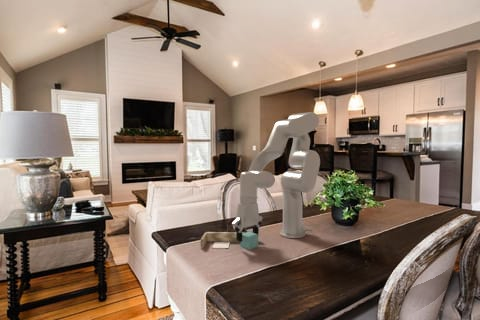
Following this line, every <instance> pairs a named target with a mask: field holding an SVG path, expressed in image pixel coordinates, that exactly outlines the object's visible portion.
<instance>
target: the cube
mask: <svg viewBox="0 0 480 320" xmlns="http://www.w3.org/2000/svg"><path fill="white" fill-rule="evenodd" d="M239 243H240V247H241V248H244V249H246V250H248V249H249V250H252V249H255V248H257V247H259V233H258V234H255V233H253V231H247V232H244V233H243V234H242V242H239Z"/></svg>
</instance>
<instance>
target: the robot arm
mask: <svg viewBox="0 0 480 320" xmlns="http://www.w3.org/2000/svg"><path fill="white" fill-rule="evenodd" d="M319 123H320V118H319V115H318V114H317V113H315V112H313V111H311V112H310V111H309V112H299V113H293V114H291V115H289V116H288V118H287V119H280V120H278V121H276V122H275V124H274V126H273V128H272V131H271V132H270V135H269V138H268V140H267V141H266V145H265V147H264V149H262V150H261V151H260V152H259V153H258V154H257V155H256V156H255V157H254V159H253V160H252V161H251V164H250V165H249V169H248V170H247V171H243V172H241V173H240V176H239V203H238V204H237V208H236V214H235V217H236V220H235V221H233V222H232V223H231V225H232V226H233V229H234V231H235V232H236V240H237V241H239V242H238V243H240V242H242V231H243V230H244V229H243V228H245V227H246V228H249V227H252V233H255V234H258V235H259V232H260V231H259V229H260V227H261V225H262V220H263V216H262V215H259V214H260V213H259V212H260V211H259V204H258V197H259V196H258V189H270V188H272V187H273V186H274V184H275V182H276V177H275V175H274V174H273V173H272V172H270V171H266V170H264V169H265V167H266V166H267V165H268V164H270V162H272V161H274V160H276V159H278V158H280V157H281V156H283V154H284V151H285V149H286V145H287V144H288V140H289V139H290V138H291V139H292V145H291V149H290V153H289V157H288V165H289V167H290V168H292V169H295V170H288V171H285V172H284V173H282V175H281V176H280V186H281V191H282V229H280V230H279V235H280V236H282V237H283V238H286V239H301V238H304V237H306V232H308V233H312V232H313V227H309V226H304V225H303V196H302V193H303V194H304V193H305V194H308V193H311V192H312V191H313V190H314V189H315V186H316V183H317V179H318V174H319V170H320V165H321V158H320V155H319V153H318V152H317V151H316V150H312V149H310V146H311V137H310V135H309V133H310V132H312V131H314V130H315V129H317V128H318V126H319ZM296 169H297V170H302V171H297V170H296Z"/></svg>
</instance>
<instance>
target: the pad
mask: <svg viewBox="0 0 480 320" xmlns="http://www.w3.org/2000/svg"><path fill="white" fill-rule="evenodd" d="M230 244H231V242H219V241H214V243H213V245H212V247H211V248H212V249H226V248H228V249H229V247H230Z"/></svg>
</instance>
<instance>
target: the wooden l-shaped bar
mask: <svg viewBox="0 0 480 320" xmlns="http://www.w3.org/2000/svg"><path fill="white" fill-rule="evenodd" d="M243 233H245V231H243V232H242V234H243ZM208 242H230V243H231V242H232V243H233V242H234V243H235V242H236V243H240V242H239V241H237V240H236V231H235V232H233V231H232V232H231V231H224V232H223V231H217V232H216V231H205V232H204V233H203V235H202V236H201V238H200V249H203V250H204V249H205V247H206V245H207V243H208Z"/></svg>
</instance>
